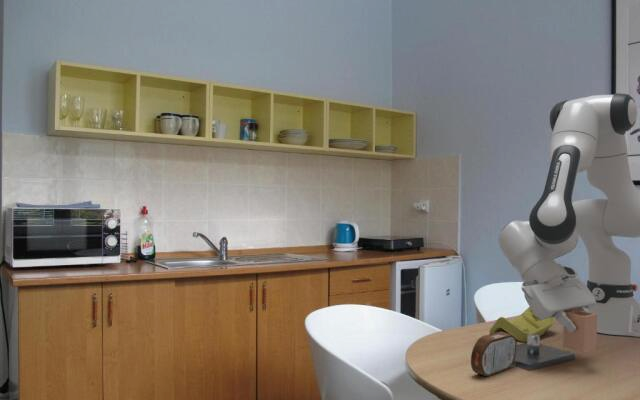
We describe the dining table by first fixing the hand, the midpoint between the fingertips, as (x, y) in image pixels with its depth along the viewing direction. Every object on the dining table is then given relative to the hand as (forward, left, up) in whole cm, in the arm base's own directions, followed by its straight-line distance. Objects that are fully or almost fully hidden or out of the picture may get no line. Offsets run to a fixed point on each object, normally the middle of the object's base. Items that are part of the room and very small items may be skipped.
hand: (582, 328), depth 125 cm
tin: (+19, -9, -10) cm, 23 cm away
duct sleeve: (0, -1, -5) cm, 5 cm away
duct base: (+2, -12, -9) cm, 15 cm away
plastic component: (-16, -26, -10) cm, 33 cm away
